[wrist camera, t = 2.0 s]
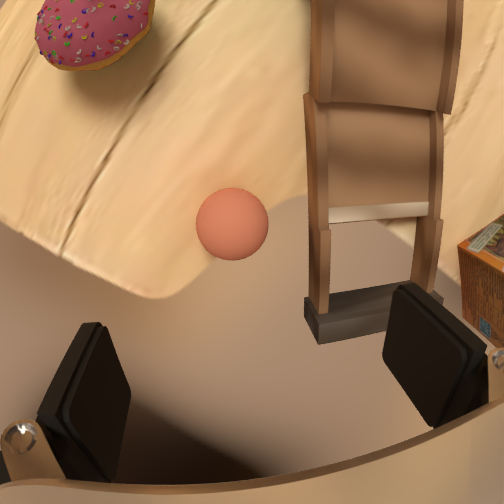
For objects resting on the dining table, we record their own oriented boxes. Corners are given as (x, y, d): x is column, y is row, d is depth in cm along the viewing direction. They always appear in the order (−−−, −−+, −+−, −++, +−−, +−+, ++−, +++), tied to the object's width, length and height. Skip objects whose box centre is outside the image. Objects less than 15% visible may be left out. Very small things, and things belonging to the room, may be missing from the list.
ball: (260, 180, 24) (272, 191, 19) (264, 242, 26) (276, 267, 21) (194, 186, 23) (189, 199, 19) (201, 249, 25) (199, 276, 20)
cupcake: (99, -22, 16) (42, -94, 4) (186, 3, 18) (171, -86, 7) (46, 65, 18) (-48, 37, 7) (129, 96, 20) (59, 66, 9)
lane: (283, -42, 17) (311, -95, 9) (410, -18, 18) (463, -45, 10) (304, 316, 29) (333, 376, 21) (416, 295, 30) (463, 339, 22)
